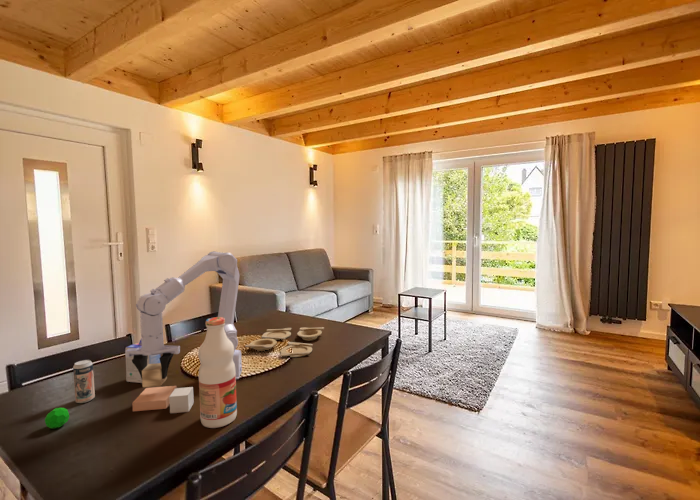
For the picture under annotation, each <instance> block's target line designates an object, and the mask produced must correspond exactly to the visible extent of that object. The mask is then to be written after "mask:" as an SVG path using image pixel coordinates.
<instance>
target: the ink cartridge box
mask: <svg viewBox="0 0 700 500" xmlns="http://www.w3.org/2000/svg"><path fill="white" fill-rule="evenodd" d="M140 347H142V340H141V339H140V340H139V342H135V343H133V344H130V345H128V346H126V347H125V351H126V350H128V349H133V348H140ZM161 356H162V355H161V354H159V355H148V357H147V365H148V364H156V363H160V359H159V358H160V357H161ZM133 358H134V356H130V357H126V356H125V374H126V375H125V377H126V379H125V381H126V382H127V383H129V382H130V383H140V384H142V378H141V376H140V373H139V371H138V369H137V368H136V366H135V365H134V364H133V363H132V359H133Z"/></svg>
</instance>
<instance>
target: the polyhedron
mask: <svg viewBox="0 0 700 500" xmlns="http://www.w3.org/2000/svg"><path fill="white" fill-rule="evenodd" d="M69 419H70V413H69V411H68V409H67V408H65V407H55V408H54V409H53V410H51V411H49V412H48V413H46V416H45V418H44V423H45V426H46V428H49V429H59V428H60V427H62V426H63V425H65V424H66V423H68V421H69Z"/></svg>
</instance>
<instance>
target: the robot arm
mask: <svg viewBox="0 0 700 500" xmlns="http://www.w3.org/2000/svg"><path fill="white" fill-rule="evenodd" d="M206 272H215V273H217V274H218V275H219V276H220V278H222V285H221V293H220V298H219V299H220V300H219V307H218V313H217V317H223V318H225V325H224V330H225V333H226V336H227V337H228V339H229V340H230V341H231V342H232V343H233V345H234V355H233V362H234V364H235V370H236V380H239V379H240V376H241V373H242V371H243V369H242V368H243V366H242V363H243V362H242V350H239V349H237V348H238V346H239V345H238V344H239V339H238V337H237V335H238V330H237V329H236V327H235V324H234V321H235V314H236V306H237V298H238V292H239V283H240V276H241V275H240V274H241V273H240V271H239V268H238V258H236V257H235V255H234V254H233V253H232V252H223V251H222V252H221V251H210V252H209V253H207V254H205V255H204V256H202V257H201V259H200V260H198V261H197V262H196V263H194V264H192V266H191V267H189V268H188V269H187V270H186V271H184V272H183V273H181V275H179V276H178V277H170V278H168V277H167V278H165V279H164V280H163V281H164V282H163V283H162V284H160V285H158V286H157V287H156V288H152V289H150V291H149V292H150V293H144V294H143V295H141V296H140V297H139V298H138V300H137V302H136V304H135V307H136V309H137V310H138V311H139V314H140V334H141V338H140V340H142V347H140V348H133V349H128V350H126V349H125V351H124V353H125V354H124V355H125V358H126V357H130V356H134V358H133V359H132V363H133V364H134V365H135V366H136V368H137V369H138V371H139V373H140V376H141V378H142V370H143V369H144V368H145V367H146V366H147V357H148V355H159V354H160V356H161V357H160V358H159V359H160V363H161V368H162V379H165V378H166V377H167V378H168V373H169V372H168V371H169V367H170V364H171V361H172V358H173V356H174V355H179V354H180V353H181V346H180V345H170V344H169V345H167V344H165V342H164V341H165V339H164V325H163V324H164V323H163V320H164V319H163V312H164V311H165V308H166V307H167V306H166V305H169V303H171V302H172V301H174V299H176V298H177V297H178V296H180V295H181V294H182V293H184V292H185V288H186V286H188V284H190V283H191V282H193V281H195V280H196V279H197V278H199V277H200V276H202V275H204V274H205V273H206Z"/></svg>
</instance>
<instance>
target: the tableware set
mask: <svg viewBox="0 0 700 500" xmlns="http://www.w3.org/2000/svg"><path fill="white" fill-rule="evenodd" d="M291 330H292V327H285V328H284V327H283V328H275V329H274V328H272V329H271V328H270V329H269V328H268V329H266V332H264V333H263V334H262V336H261V338H258V339H255V340H253V341H251V342H250V343H249V344H245V345H244V348H251V349H254V351H256V350H257V351H256V352H259V351H264V352H266V351H265V350H268V351H270V350H272V348H273V347H276V345H277V344H278V343H277V342H278V341H280V339H281V340H286V339H287V338H289V337H291V335H292V332H291ZM323 330H325V327H323V326H321V327H304V326H303V327H300V328H299V331H298V332H297V333H296V334H297V336H298V337H300V338H302V340H303V341H305V342H306V341H314V340H317V339H318V337H319V336H321V335H322V333H323ZM313 345H314V344H312V343H303V342H293V341H288V342H287V346H285V347H283V348H281V349H280V354H279V357H287V356H290V357H289V358H300V357H305V356H308V355H310V354H311V353H312V351H313ZM289 348H293V353H286V350H287V349H289ZM269 349H270V350H269Z"/></svg>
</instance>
